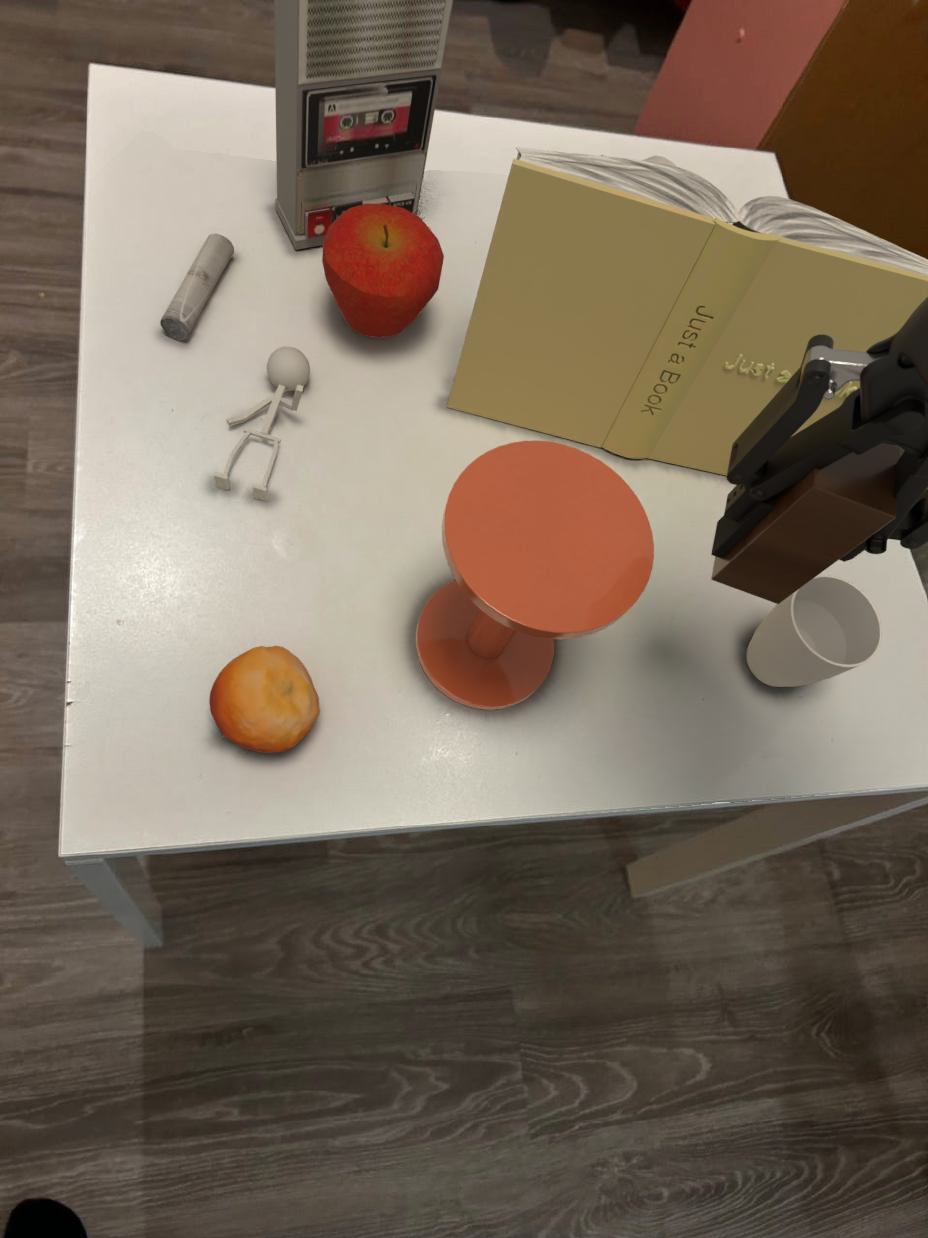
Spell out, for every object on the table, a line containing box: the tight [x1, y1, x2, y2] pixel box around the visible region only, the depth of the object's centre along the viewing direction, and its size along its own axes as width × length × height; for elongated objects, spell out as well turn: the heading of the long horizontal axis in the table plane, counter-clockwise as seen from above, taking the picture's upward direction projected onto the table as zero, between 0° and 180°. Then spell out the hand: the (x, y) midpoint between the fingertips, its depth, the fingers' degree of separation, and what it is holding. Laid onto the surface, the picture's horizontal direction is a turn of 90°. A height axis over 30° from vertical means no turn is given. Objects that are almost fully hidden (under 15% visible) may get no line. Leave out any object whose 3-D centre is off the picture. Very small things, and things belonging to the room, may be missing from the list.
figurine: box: [213, 346, 311, 502], centre depth 72 cm, size 6×6×15 cm
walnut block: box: [710, 443, 902, 605], centre depth 51 cm, size 5×5×12 cm
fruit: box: [208, 645, 321, 754], centre depth 62 cm, size 8×8×8 cm
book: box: [446, 146, 928, 477], centre depth 73 cm, size 36×8×24 cm, turn 82°
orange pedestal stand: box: [415, 440, 655, 711], centre depth 62 cm, size 14×14×20 cm
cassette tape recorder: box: [273, 0, 454, 250], centre depth 75 cm, size 14×6×25 cm, turn 115°
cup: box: [745, 574, 883, 688], centre depth 71 cm, size 8×8×10 cm
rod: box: [160, 233, 235, 341], centre depth 78 cm, size 12×3×3 cm, turn 165°
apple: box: [321, 204, 445, 338], centre depth 76 cm, size 11×11×12 cm
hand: (758, 554), depth 55 cm, fingers closed on walnut block, 5 cm apart
